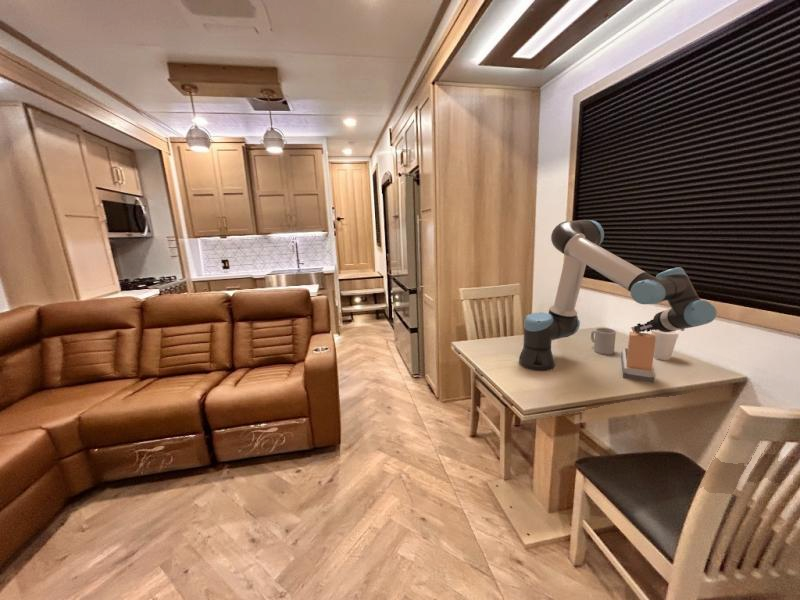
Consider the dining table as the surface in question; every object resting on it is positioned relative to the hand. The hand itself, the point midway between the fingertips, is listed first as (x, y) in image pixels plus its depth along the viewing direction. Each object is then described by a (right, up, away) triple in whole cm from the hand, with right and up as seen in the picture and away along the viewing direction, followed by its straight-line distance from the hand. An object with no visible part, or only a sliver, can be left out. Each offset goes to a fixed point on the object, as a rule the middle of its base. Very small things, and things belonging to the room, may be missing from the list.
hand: (633, 330), depth 133 cm
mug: (+2, -13, +25) cm, 28 cm away
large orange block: (-1, -17, -3) cm, 17 cm away
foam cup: (+23, -14, +14) cm, 30 cm away
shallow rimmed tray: (+4, -17, +4) cm, 18 cm away
